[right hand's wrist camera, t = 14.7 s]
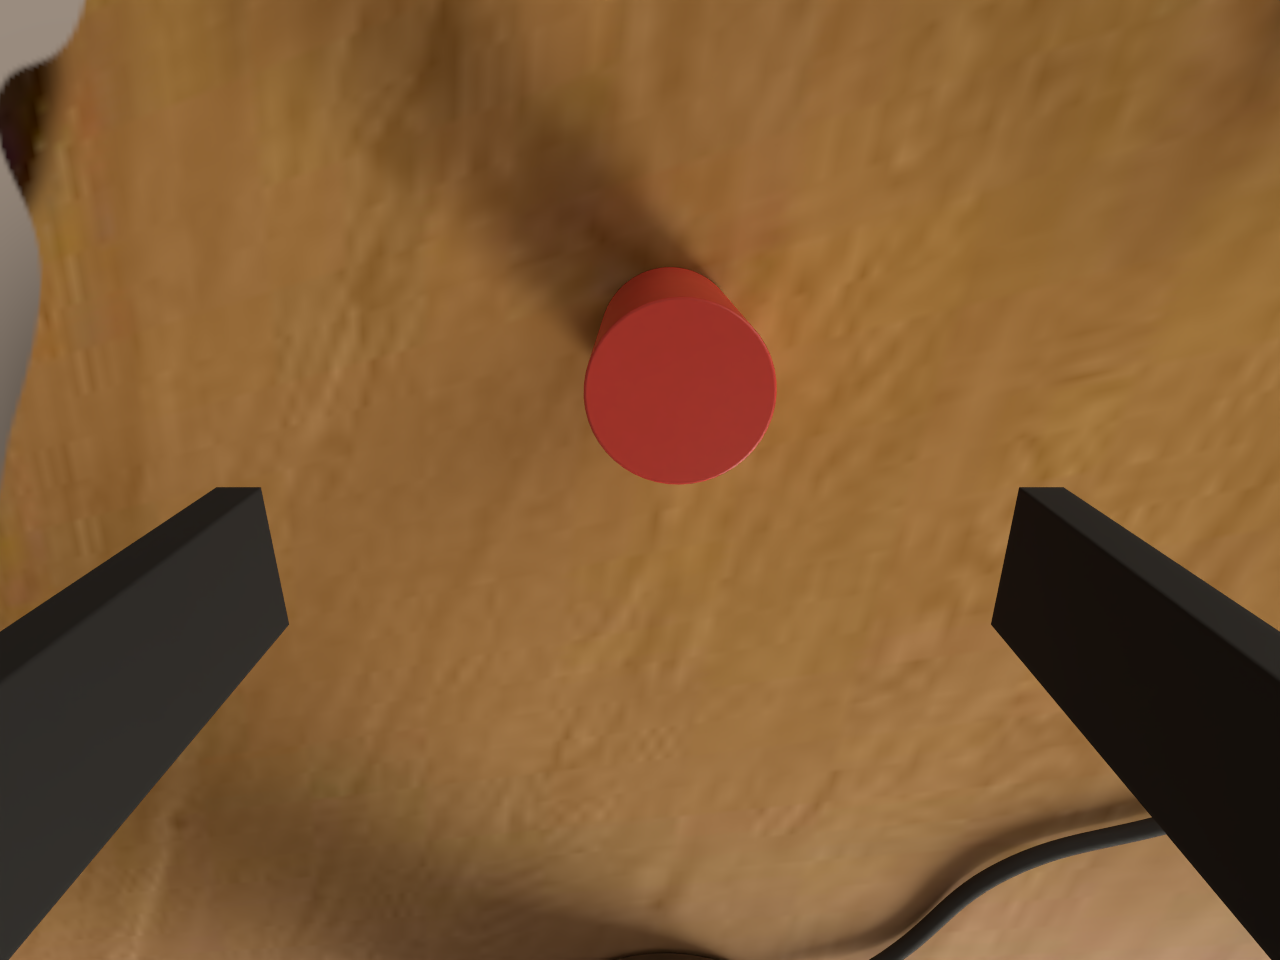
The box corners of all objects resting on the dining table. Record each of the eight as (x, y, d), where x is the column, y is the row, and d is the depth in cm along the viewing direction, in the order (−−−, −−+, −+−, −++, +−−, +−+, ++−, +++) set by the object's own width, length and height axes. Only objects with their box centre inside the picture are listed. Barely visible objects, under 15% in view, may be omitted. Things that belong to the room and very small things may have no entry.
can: (747, 275, 27) (793, 308, 19) (725, 410, 29) (758, 494, 21) (607, 259, 27) (592, 285, 18) (594, 396, 29) (576, 475, 20)
